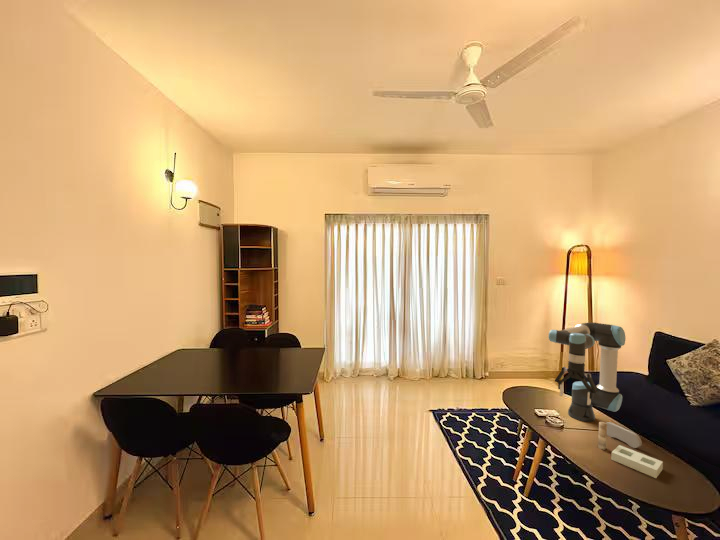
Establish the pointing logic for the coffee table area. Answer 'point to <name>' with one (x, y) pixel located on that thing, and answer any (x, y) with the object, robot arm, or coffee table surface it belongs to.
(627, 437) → the grey flat oval slab
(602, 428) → the peg
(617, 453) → the socket block
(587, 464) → the coffee table surface
